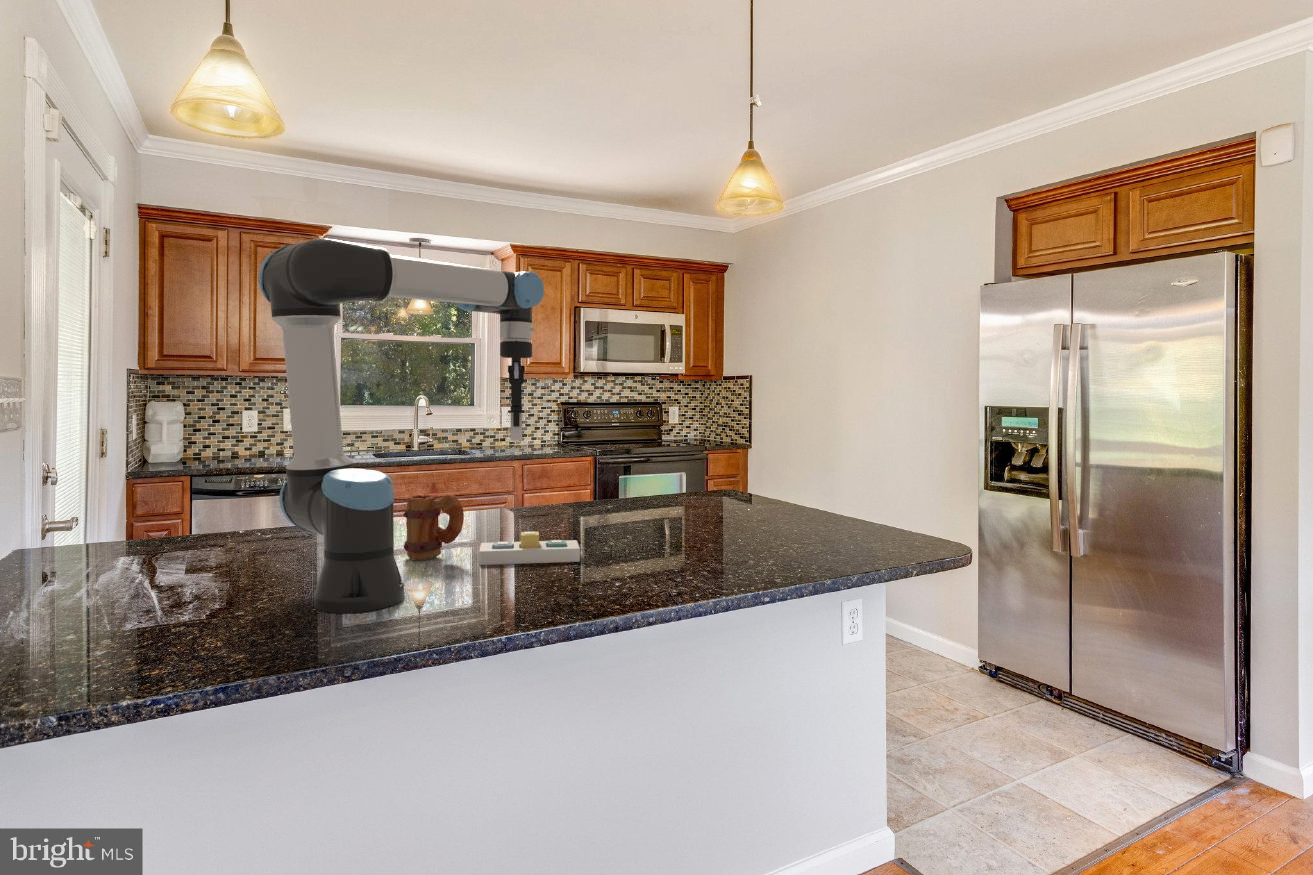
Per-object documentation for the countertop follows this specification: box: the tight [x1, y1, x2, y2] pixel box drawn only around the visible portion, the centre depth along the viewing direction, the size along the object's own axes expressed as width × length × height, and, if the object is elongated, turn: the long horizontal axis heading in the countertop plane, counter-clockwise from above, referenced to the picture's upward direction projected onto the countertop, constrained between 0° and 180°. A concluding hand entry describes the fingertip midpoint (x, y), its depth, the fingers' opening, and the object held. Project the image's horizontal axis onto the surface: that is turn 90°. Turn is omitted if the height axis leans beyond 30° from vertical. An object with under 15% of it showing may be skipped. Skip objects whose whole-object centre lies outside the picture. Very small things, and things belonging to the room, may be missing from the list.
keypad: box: [478, 539, 581, 566], centre depth 164 cm, size 22×9×3 cm, turn 101°
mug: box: [402, 493, 465, 561], centre depth 162 cm, size 15×8×15 cm, turn 73°
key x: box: [520, 531, 540, 548], centre depth 164 cm, size 4×4×3 cm
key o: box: [493, 541, 513, 549], centre depth 163 cm, size 4×4×3 cm
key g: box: [546, 539, 566, 547], centre depth 166 cm, size 4×4×3 cm
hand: (516, 440), depth 172 cm, fingers closed
